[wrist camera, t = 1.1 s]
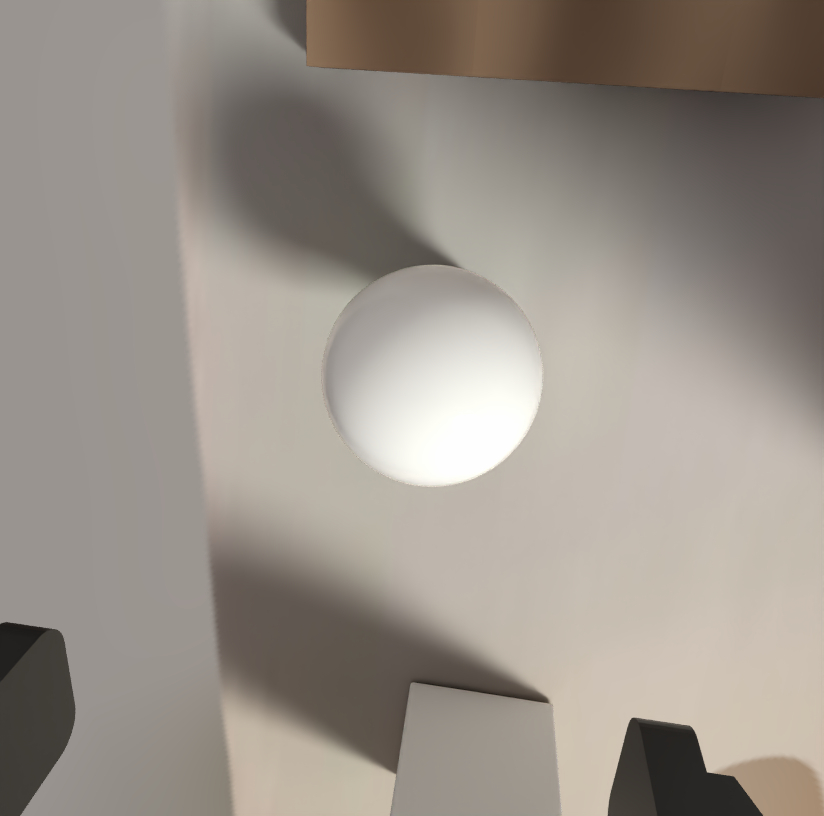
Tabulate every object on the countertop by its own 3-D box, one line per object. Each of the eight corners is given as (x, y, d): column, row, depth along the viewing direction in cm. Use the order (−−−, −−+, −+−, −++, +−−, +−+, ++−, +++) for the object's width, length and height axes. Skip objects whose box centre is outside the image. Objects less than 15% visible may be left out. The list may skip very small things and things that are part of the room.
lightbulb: (431, 184, 26) (388, 243, 16) (567, 287, 27) (605, 402, 17) (338, 317, 29) (251, 440, 19) (465, 408, 30) (447, 570, 20)
